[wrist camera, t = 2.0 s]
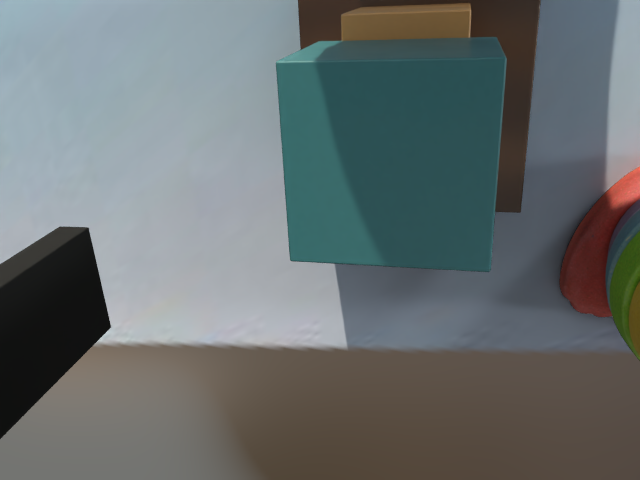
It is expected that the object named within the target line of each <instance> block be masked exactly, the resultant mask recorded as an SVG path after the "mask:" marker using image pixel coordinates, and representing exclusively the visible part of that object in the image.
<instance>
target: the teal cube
mask: <svg viewBox="0 0 640 480" xmlns="http://www.w3.org/2000/svg"><path fill="white" fill-rule="evenodd" d="M506 63H507V58H506V56H505V54H504V52H503V50H502V47H501V45H500V43H499V41H498V39H497V37H470V38H431V39H392V40H352V41H318V42H316V43H314V44H312V45H310V46H308V47H306V48H304V49H302V50H300V51H297V52H295V53H293V54H291V55H289V56H287V57H285V58H283V59H281V60H279V61H277V62H276V70H277V84H278V98H279V112H280V126H281V140H282V154H283V168H284V182H285V196H286V210H287V224H288V238H289V252H290V260H291V261H299V262H317V263H335V264H353V265H371V266H389V267H407V268H425V269H443V270H461V271H479V272H490V270H491V259H492V246H493V233H494V220H495V207H496V194H497V181H498V168H499V155H500V142H501V129H502V116H503V103H504V89H505V76H506Z"/></svg>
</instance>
